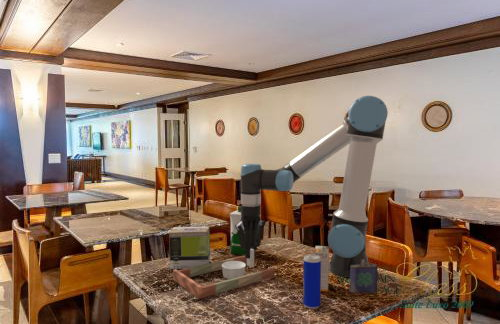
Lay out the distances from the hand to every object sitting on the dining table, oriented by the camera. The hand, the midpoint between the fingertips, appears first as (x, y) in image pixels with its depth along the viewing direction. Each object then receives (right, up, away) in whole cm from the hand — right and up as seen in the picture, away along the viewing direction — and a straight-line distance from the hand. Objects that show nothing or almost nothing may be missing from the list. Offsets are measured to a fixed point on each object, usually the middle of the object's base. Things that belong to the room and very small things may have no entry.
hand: (250, 265), depth 138 cm
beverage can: (+19, -4, -29) cm, 34 cm away
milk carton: (-4, -1, +24) cm, 24 cm away
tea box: (-24, -2, +7) cm, 25 cm away
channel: (-9, -2, -7) cm, 11 cm away
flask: (+37, -3, -19) cm, 42 cm away
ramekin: (-6, -3, -5) cm, 8 cm away
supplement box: (+24, -3, -15) cm, 28 cm away
